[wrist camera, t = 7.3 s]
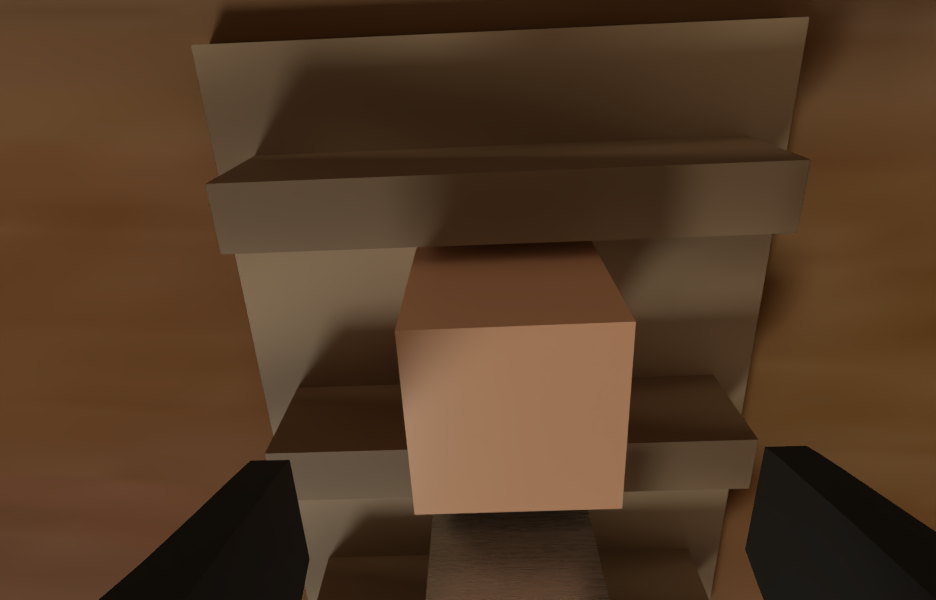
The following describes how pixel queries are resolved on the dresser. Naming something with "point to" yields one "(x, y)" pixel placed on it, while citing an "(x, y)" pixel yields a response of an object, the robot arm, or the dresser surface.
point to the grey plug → (514, 557)
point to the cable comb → (506, 222)
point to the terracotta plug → (514, 378)
